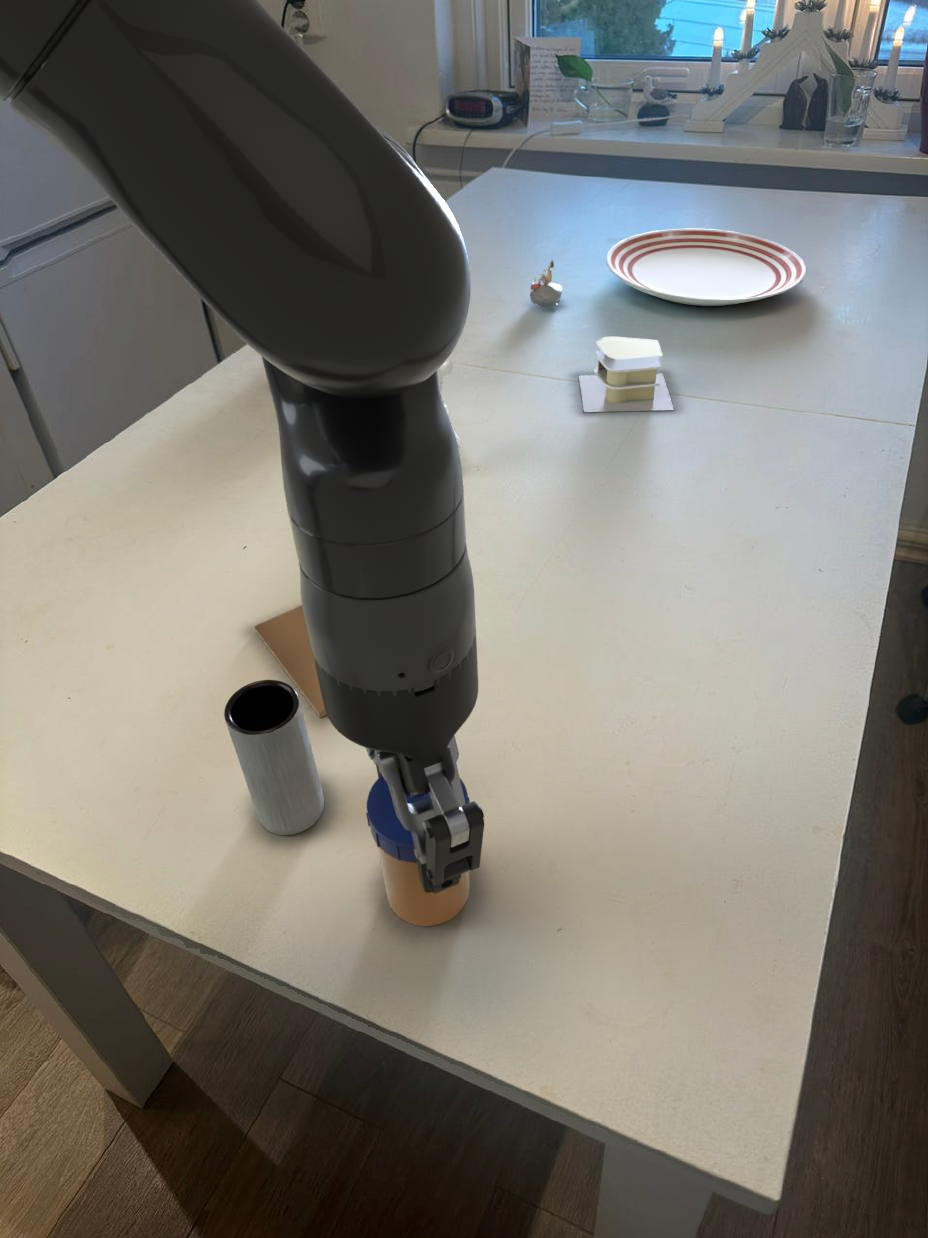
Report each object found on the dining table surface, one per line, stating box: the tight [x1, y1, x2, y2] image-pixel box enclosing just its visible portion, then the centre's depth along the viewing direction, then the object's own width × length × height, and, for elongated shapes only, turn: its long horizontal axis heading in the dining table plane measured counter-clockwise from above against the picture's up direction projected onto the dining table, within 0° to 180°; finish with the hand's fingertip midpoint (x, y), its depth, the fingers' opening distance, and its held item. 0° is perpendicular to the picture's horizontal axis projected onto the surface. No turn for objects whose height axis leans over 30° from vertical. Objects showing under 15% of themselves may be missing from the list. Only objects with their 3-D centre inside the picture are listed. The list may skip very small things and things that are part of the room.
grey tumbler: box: [223, 679, 325, 836], centre depth 56 cm, size 4×4×10 cm
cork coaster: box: [253, 605, 327, 718], centre depth 71 cm, size 12×12×1 cm
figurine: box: [529, 259, 563, 309], centre depth 119 cm, size 5×4×6 cm
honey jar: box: [377, 847, 471, 927], centre depth 52 cm, size 5×5×8 cm
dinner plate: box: [605, 228, 807, 307], centre depth 123 cm, size 27×27×3 cm
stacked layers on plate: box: [578, 335, 675, 413], centre depth 99 cm, size 10×9×6 cm
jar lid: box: [366, 775, 471, 862], centre depth 49 cm, size 6×6×2 cm
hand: (420, 839), depth 51 cm, fingers closed on jar lid, 5 cm apart
